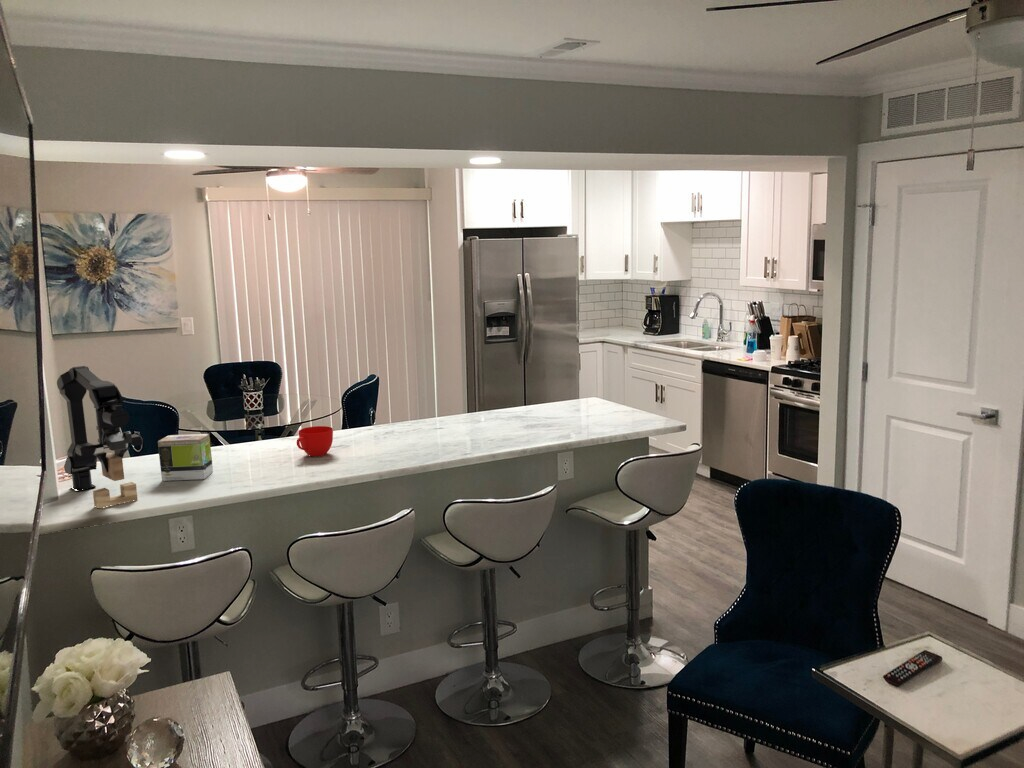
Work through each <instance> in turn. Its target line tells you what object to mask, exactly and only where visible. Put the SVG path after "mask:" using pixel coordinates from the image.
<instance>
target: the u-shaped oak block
mask: <svg viewBox="0 0 1024 768" xmlns="http://www.w3.org/2000/svg"><path fill="white" fill-rule="evenodd" d="M119 488H120V490H119V491H120V494H119V495H113V496H111V495H110V489H108V488H106V487H102V488H97V489H93V490H92V496H93V504H94V506H93V507H95V506H96V507H97V508H103V507H106V506H110V505H115V506H117V505H116V504H119V503H124V502H128V503H130V502H129V501H132V502H134V501H133V500H136V501H138V499H139V498H138V492H137V484H136V483H134V482H133V481H128V482H124V483H120V484H119ZM124 504H125V503H124ZM119 505H120V504H119ZM97 508H96V509H97ZM103 509H104V508H103Z"/></svg>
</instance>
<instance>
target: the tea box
mask: <svg viewBox="0 0 1024 768" xmlns="http://www.w3.org/2000/svg"><path fill="white" fill-rule="evenodd" d="M157 447H158V456H159V457H158V458H159V466H160V474H161V475H160V476H161V481H162V482H168V481H171V482H172V481H189V480H191V481H193V480H205V479H207V478H208V477H209V476H210V475H212V474H213V473H212V472H214V471H213V470H214V469H213V468H214V467H213V460H212V459H213V458H212V449H211V437H210V433H192V434H191V433H189V434H188V433H187V434H170V435H167V436H165V437H163V438H161V439H159V440H158V441H157ZM207 476H208V477H207ZM206 477H207V478H206Z"/></svg>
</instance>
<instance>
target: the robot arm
mask: <svg viewBox="0 0 1024 768" xmlns="http://www.w3.org/2000/svg"><path fill="white" fill-rule="evenodd" d="M56 385H57V389H58V390H59V394H60V395H61V396H62V397H63V399H64V400H65V401H66V408H67V415H68V424H69V432H70V439H71V441H70V442H71V443H70V445H69V447H68V450H67V451H66V452H67V454H66V455H67V456H66V460H65V462H64V465H63V468H64V472H65V473H66V474H68V475H71V478H72V479H71V481H72V486H73V488H74V489H77V490H82V489H87V488H91V489H93V488H92V487H97V486H96V485H95V484H93V482H92V473H91V471H92V470H97V464H98V463H97V462H98V461H99V462H100V464H102V466H103V468H104V469H105V471H106V472H108V464H107V459H106V454H107V453H108V452H106V451H105V449H109V451H114V454H115V455H117V456H119V457H122V459H123V458H124V455H125V454H126V452H127V451H130V447H129V445H131V446H132V447H139V446H142V445H144V440H143V436H141V435H139V434H138V435H137V434H135V433H134V434H132V432H131V431H130V430H129V431H124V432H121V429H120V428H124V427H126V426H127V425H128V424H129V422H130V419H131V418H130V414H129V412H128V411H127V410H125V409H123V408H122V406H124V405H125V404H124V397H123V396H122V394H121V392H120V390H119V388H118V387H117V386H116V384H115V383H113V382H111V381H109V380H102V379H101V378H99V377H98V376H97V375H96V374H95V373H93V372H92V371H91V370H90V368H89V366H87V365H86V366H85V365H81V366H80V365H78V366H73V367H71V368H69V370H68V371H66V372H64V373H62V374H60V375H59V377H58V378H57V380H56ZM87 391H88V396H89V399H90V401H91V402H92V404H93V408H94V409H95V417H96V430H97V434H98V439H97V442H98V443H96V444H92V443H91V442H88V434H87V429H86V428H87V427H86V420H85V410H84V409H85V408H84V403H83V400H84V398H85V396H86V394H87ZM102 466H101V467H102ZM87 490H88V489H87ZM82 491H83V490H82Z"/></svg>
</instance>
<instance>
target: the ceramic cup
mask: <svg viewBox="0 0 1024 768" xmlns="http://www.w3.org/2000/svg"><path fill="white" fill-rule="evenodd" d="M333 440H334V428H333V427H331V426H328V425H327V426H325V425H323V426H322V425H317V426H309V427H307V426H306V427H304V428H301V429H299V430H298V438H297V439H296V446H297V448H298V449H299V450H301V451H304V452H305V453H306V454H307V455H308V456H309V455H310V456H320V457H323V456H322V455H324V456H326V455H327V454H328V452H329V451H330V449H331V448H332V445H333ZM325 454H326V455H325ZM310 456H309V457H310Z"/></svg>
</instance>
